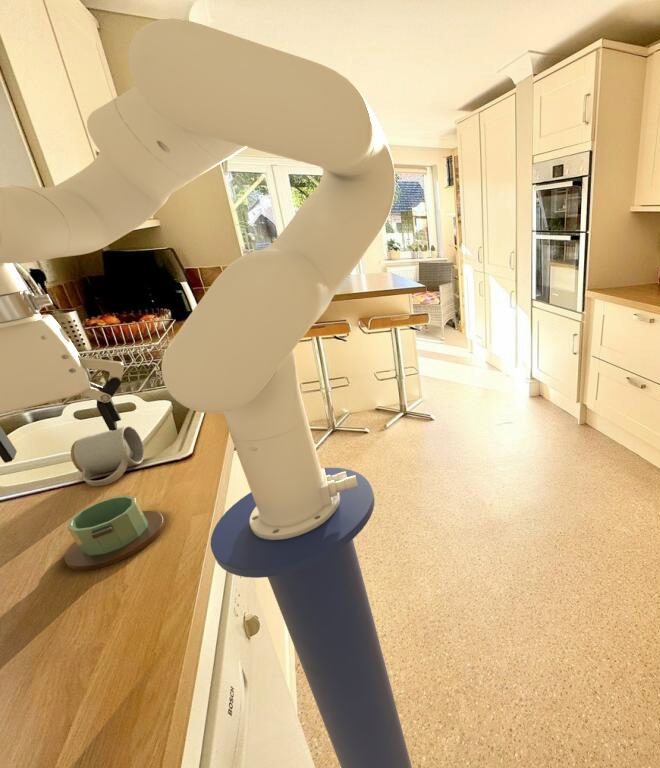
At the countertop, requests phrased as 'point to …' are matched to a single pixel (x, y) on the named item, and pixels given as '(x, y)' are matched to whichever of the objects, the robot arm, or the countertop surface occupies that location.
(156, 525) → the turntable
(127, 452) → the ceramic mug
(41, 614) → the countertop surface
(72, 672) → the countertop surface
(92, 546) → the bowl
